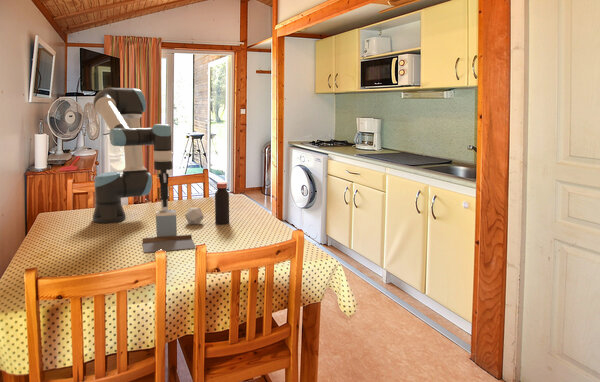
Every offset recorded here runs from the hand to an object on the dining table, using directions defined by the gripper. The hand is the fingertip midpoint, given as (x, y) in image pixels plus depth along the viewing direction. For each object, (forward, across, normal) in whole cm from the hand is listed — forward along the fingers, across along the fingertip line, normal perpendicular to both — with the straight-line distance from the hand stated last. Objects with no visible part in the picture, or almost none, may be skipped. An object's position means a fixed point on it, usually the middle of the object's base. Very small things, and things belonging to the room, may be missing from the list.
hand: (164, 213), depth 206 cm
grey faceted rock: (+10, +17, -15) cm, 24 cm away
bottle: (+10, +14, -28) cm, 33 cm away
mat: (+10, -18, 0) cm, 20 cm away
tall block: (+10, -6, 0) cm, 12 cm away
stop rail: (+10, -10, 0) cm, 14 cm away
